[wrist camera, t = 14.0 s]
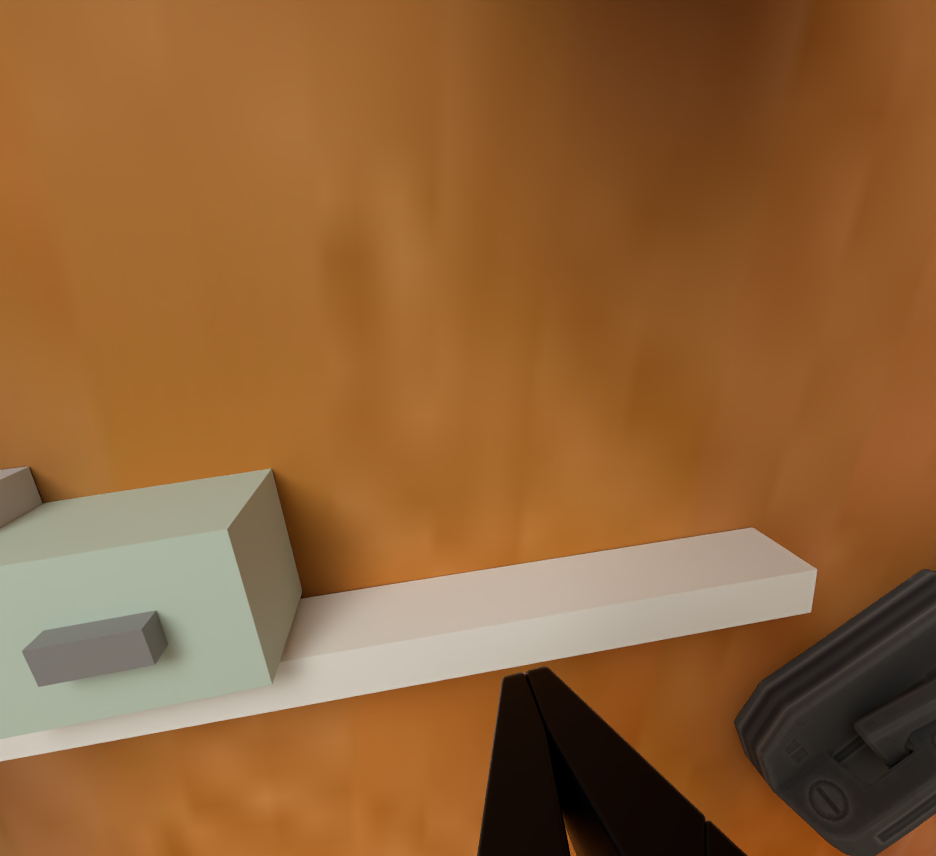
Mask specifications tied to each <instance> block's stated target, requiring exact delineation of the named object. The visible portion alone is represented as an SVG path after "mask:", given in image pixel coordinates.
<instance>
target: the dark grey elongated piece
mask: <svg viewBox="0 0 936 856" xmlns="http://www.w3.org/2000/svg"><path fill="white" fill-rule="evenodd" d="M734 723H735V726H736V729H737V732H738V735H739V738H740V741H741V744H742V747H743V750H744V753H745V755H746V756H747V757H748V758H749V760H750V761H751V762H752V764H753V765H754V766H755V768H756V769H757V770H758V772H759V773H760V774H761V776H762V777H763V778H764V780H765V781H766V782H767V783H768V785H769V786H770V788H771V789H772V790H773V791H774V792H775V793H776V794H777V795H778V796H779V797H780V798H781V799H782V800H783V801H784V802H785V803H786V804H787V805H788V806H790V807H791V808H792V809H793V810H794V811H795V812H796V813H797V814H798V815H799V816H800V817H801V818H802V819H803V820H805V821H806V822H807V823H808V824H809V825H810V826H811V827H812V828H813V829H814V830H815V831H816V832H817V833H818V834H820V835H821V836H822V837H823V838H824V839H825V840H826V841H827V842H828V843H829V844H831V845H832V846H834V847H835V848H837V849H838V850H840V851H841V852H843V853H844V854H846V855H850V856H876V855H877V854H879V853H880V852H882V851H883V850H885V849H886V848H888V847H889V846H890V845H892V844H893V843H895V842H896V841H898V840H899V839H901V838H902V837H903V836H905V835H906V834H908V833H909V832H911V831H912V830H914V829H915V828H916V827H918V826H919V825H920V824H922V823H923V822H925V821H926V820H927V819H929V818H930V817H931V816H933V815H934V814H935V813H936V572H935V571H931V570H927V569H923V570H921V571H920V572H918V573H916V574H915V575H913V576H912V577H910V578H909V579H908V580H906V581H905V582H903V583H902V584H900V585H899V586H898V587H896V588H895V589H893V590H892V591H890V592H889V593H888V594H886V595H885V596H883V597H882V598H880V599H879V600H878V601H876V602H875V603H873V604H872V605H870V606H869V607H868V608H866V609H865V610H863V611H862V612H860V613H859V614H858V615H856V616H855V617H853V618H852V619H850V620H849V621H848V622H846V623H845V624H843V625H842V626H840V627H839V628H838V629H836V630H835V631H833V632H832V633H830V634H829V635H828V636H826V637H825V638H823V639H822V640H820V641H819V642H818V643H816V644H815V645H813V646H812V647H810V648H809V649H808V650H806V651H805V652H803V653H802V654H800V655H799V656H797V657H796V658H794V659H793V660H791V661H790V662H788V663H787V664H786V665H784V666H783V667H781V668H780V669H778V670H777V671H775V672H774V673H772V674H771V675H769V676H768V677H766V678H765V679H763V680H762V681H761V682H760V683H759V685H758V686H757V688H756V689H755V691H754V692H753V694H752V695H751V697H750V698H749V700H748V701H747V703H746V704H745V706H744V707H743V709H742V710H741V712H740V713H739V715H738V716H737V718H736V719H735V721H734Z"/></svg>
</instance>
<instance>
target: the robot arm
mask: <svg viewBox="0 0 936 856" xmlns="http://www.w3.org/2000/svg"><path fill="white" fill-rule="evenodd" d="M565 827H566V829H567V832H568V835H569V837H570V840H571V842H572V845H573V847H574V850H575V852H576V855H577V856H747V855H746V854H745V853H744V852H743V851H742V850H741V849H740V848H738V847H737V846H736V845H735V844H734V843H733V842H732V841H731V840H730V839H729V838H728V837H727V836H726V835H725V834H724V833H722V832H721V831H720V830H719V829H718V828H717V827H716V826H715V825H714V824H713V823H712V822H711V821H709V820H708V821H706V819H705V816H704V815H703V814H702V813H701V812H700V811H699V810H698V809H697V808H696V807H695V806H694V805H693V804H692V803H691V802H690V801H688V800H687V799H686V798H685V797H684V796H683V795H682V794H681V793H680V792H679V791H678V790H677V789H676V788H675V787H674V786H673V785H672V784H671V783H670V782H668V781H667V780H666V779H665V778H664V777H663V776H662V775H661V774H660V773H659V772H658V771H657V770H656V769H655V768H654V767H653V766H652V765H651V764H649V763H648V762H647V761H646V760H645V759H644V758H643V757H642V756H641V755H640V754H639V753H638V752H637V751H636V750H635V749H634V748H633V747H632V746H631V745H629V744H628V743H627V742H626V741H625V740H624V739H623V738H622V737H621V736H620V735H619V734H618V733H617V732H616V731H615V730H614V729H613V728H612V727H610V726H609V725H608V724H607V723H606V722H605V721H604V720H603V719H602V718H601V717H600V716H599V715H598V714H597V713H596V712H595V711H594V710H593V709H592V708H590V707H589V706H588V705H587V704H586V703H585V702H584V701H583V700H582V699H581V698H580V697H579V696H578V695H577V694H576V693H575V692H574V691H573V690H571V689H570V688H569V687H568V686H567V685H566V684H565V683H564V682H563V681H562V680H561V679H560V678H559V677H558V676H557V675H556V674H555V673H554V672H553V671H551V670H550V669H549V668H548V667H545V666H543V667H539V668H535V669H532V670H528V671H527V672H526V675H525V674H524V673H522V672H520V673H516V674H512V675H508V676H505V677H504V678H503V680H502V685H501V692H500V699H499V706H498V713H497V720H496V727H495V734H494V741H493V748H492V755H491V762H490V769H489V776H488V783H487V790H486V798H485V805H484V812H483V819H482V826H481V833H480V840H479V847H478V854H477V856H571V855H570V850H569V845H568V840H567V834H566V829H565Z"/></svg>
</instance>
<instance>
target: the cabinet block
mask: <svg viewBox="0 0 936 856" xmlns="http://www.w3.org/2000/svg"><path fill="white" fill-rule="evenodd" d="M301 595H302V588H301V584H300V580H299V576H298V572H297V568H296V564H295V560H294V556H293V552H292V548H291V544H290V540H289V536H288V532H287V528H286V524H285V520H284V516H283V512H282V508H281V504H280V500H279V496H278V492H277V488H276V484H275V480H274V476H273V472H272V469H266V470H259V471H253V472H246V473H239V474H233V475H226V476H219V477H213V478H206V479H200V480H193V481H186V482H180V483H173V484H167V485H160V486H153V487H147V488H140V489H133V490H127V491H120V492H114V493H107V494H100V495H94V496H87V497H81V498H74V499H67V500H61V501H54V502H47V503H43V504H42V505H40V506H38V507H36V508H35V509H33V510H31V511H30V512H28V513H26V514H24V515H23V516H21V517H19V518H18V519H16V520H14V521H12V522H11V523H9V524H7V525H5V526H4V527H2V528H0V739H4V738H9V737H14V736H19V735H24V734H29V733H34V732H39V731H44V730H49V729H54V728H59V727H64V726H69V725H74V724H79V723H84V722H89V721H94V720H99V719H104V718H109V717H114V716H119V715H124V714H129V713H134V712H139V711H144V710H149V709H154V708H159V707H164V706H169V705H174V704H179V703H184V702H189V701H194V700H199V699H204V698H209V697H214V696H219V695H224V694H229V693H234V692H239V691H244V690H249V689H254V688H259V687H264V686H269V685H272V684H273V681H274V678H275V675H276V672H277V669H278V666H279V663H280V659H281V656H282V653H283V650H284V647H285V644H286V641H287V638H288V635H289V632H290V629H291V625H292V622H293V619H294V616H295V613H296V610H297V607H298V604H299V601H300V598H301Z"/></svg>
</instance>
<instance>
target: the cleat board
mask: <svg viewBox="0 0 936 856" xmlns="http://www.w3.org/2000/svg"><path fill="white" fill-rule="evenodd" d="M42 504H43V503H42V501H41V498H40V495H39V493H38V490H37V487H36V485H35V482H34V479H33V477H32V474H31V471H30V469H29V467H21V468H13V469H5V470H0V528H2V527H4V526H5V525H7V524H9V523H11V522H12V521H14V520H16V519H18V518H19V517H21V516H23V515H24V514H26V513H28V512H30V511H31V510H33V509H35V508H36V507H38V506H40V505H42ZM816 576H817V569H816V568H814V567H813V566H811V565H810V564H808V563H807V562H805V561H804V560H802V559H801V558H799V557H797V556H796V555H794V554H793V553H791V552H790V551H788V550H787V549H785V548H784V547H782V546H781V545H779V544H778V543H776V542H774V541H773V540H771V539H770V538H768V537H767V536H765V535H764V534H762V533H761V532H759V531H758V530H756V529H755V528H753V527H752V528H745V529H739V530H733V531H726V532H720V533H714V534H707V535H701V536H695V537H688V538H682V539H676V540H669V541H663V542H657V543H650V544H644V545H638V546H631V547H625V548H619V549H612V550H606V551H600V552H593V553H587V554H581V555H574V556H568V557H562V558H555V559H549V560H543V561H536V562H530V563H524V564H517V565H511V566H505V567H498V568H492V569H486V570H479V571H473V572H467V573H460V574H454V575H448V576H441V577H435V578H429V579H423V580H416V581H410V582H404V583H397V584H391V585H385V586H378V587H372V588H366V589H359V590H353V591H347V592H340V593H334V594H328V595H321V596H315V597H309V598H302V599H300V601H299V604H298V607H297V610H296V613H295V616H294V619H293V622H292V625H291V629H290V632H289V635H288V638H287V641H286V644H285V647H284V650H283V653H282V656H281V659H280V663H279V666H278V669H277V672H276V675H275V678H274V681H273V684H272V685H269V686H264V687H259V688H254V689H249V690H244V691H239V692H234V693H229V694H224V695H219V696H214V697H209V698H204V699H199V700H194V701H189V702H184V703H179V704H174V705H169V706H164V707H159V708H154V709H149V710H144V711H139V712H134V713H129V714H124V715H119V716H114V717H109V718H104V719H99V720H94V721H89V722H84V723H79V724H74V725H69V726H64V727H59V728H54V729H49V730H44V731H39V732H34V733H29V734H24V735H19V736H14V737H9V738H4V739H0V761H5V760H11V759H16V758H22V757H27V756H32V755H38V754H43V753H49V752H54V751H60V750H65V749H70V748H76V747H81V746H87V745H92V744H98V743H103V742H109V741H114V740H119V739H125V738H130V737H136V736H141V735H147V734H152V733H158V732H163V731H168V730H174V729H179V728H185V727H190V726H196V725H201V724H207V723H212V722H217V721H223V720H228V719H234V718H239V717H245V716H250V715H256V714H261V713H266V712H272V711H277V710H283V709H288V708H294V707H299V706H304V705H310V704H315V703H321V702H326V701H332V700H337V699H343V698H348V697H353V696H359V695H364V694H370V693H375V692H381V691H386V690H392V689H397V688H402V687H408V686H413V685H419V684H424V683H430V682H435V681H441V680H446V679H451V678H457V677H462V676H468V675H473V674H479V673H484V672H489V671H495V670H500V669H506V668H511V667H517V666H522V665H528V664H533V663H538V662H544V661H549V660H555V659H560V658H566V657H571V656H577V655H582V654H587V653H593V652H598V651H604V650H609V649H615V648H620V647H626V646H631V645H636V644H642V643H647V642H653V641H658V640H664V639H669V638H674V637H680V636H685V635H691V634H696V633H702V632H707V631H713V630H718V629H723V628H729V627H734V626H740V625H745V624H751V623H756V622H762V621H767V620H772V619H778V618H783V617H789V616H794V615H800V614H805V613H811V609H812V603H813V596H814V589H815V583H816Z"/></svg>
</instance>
